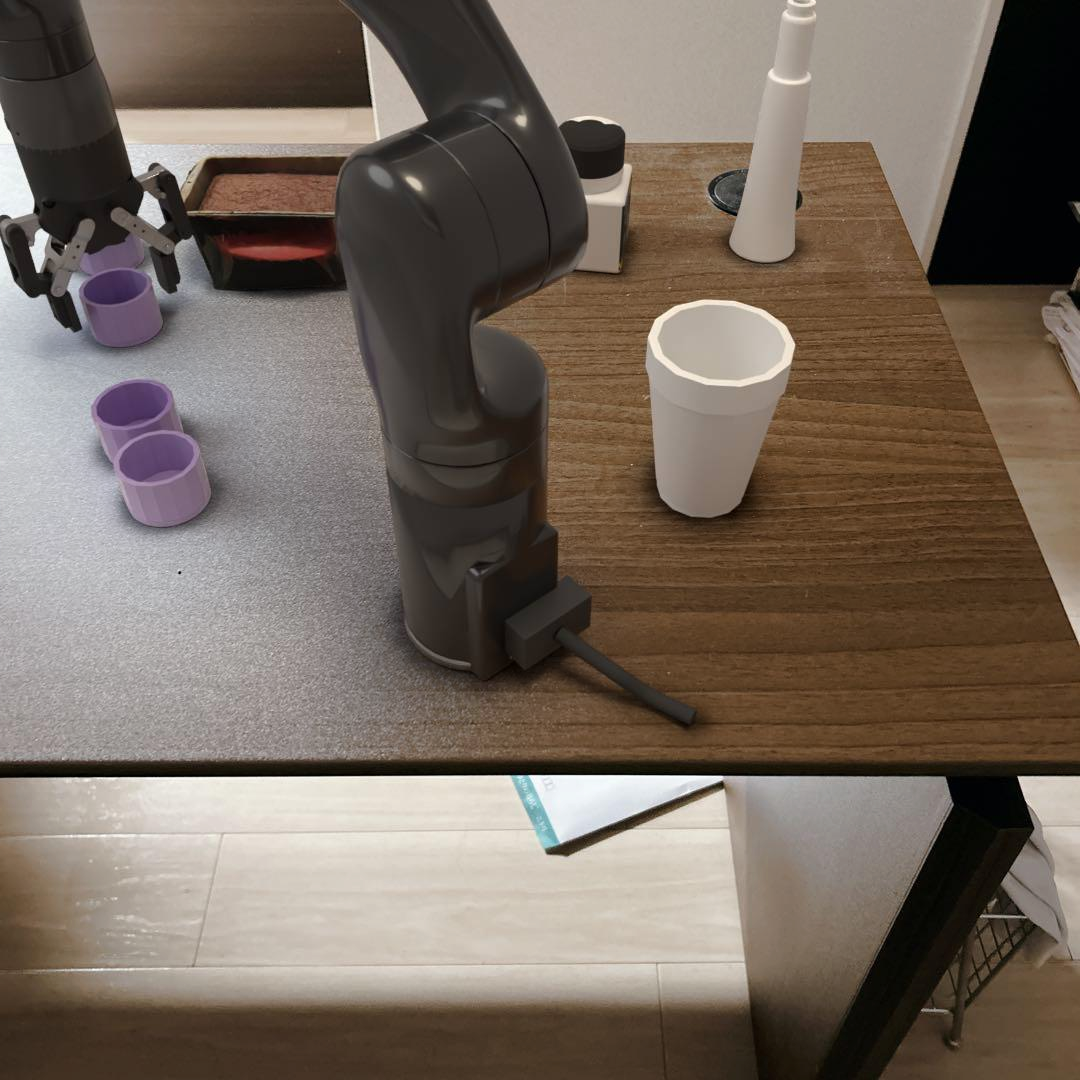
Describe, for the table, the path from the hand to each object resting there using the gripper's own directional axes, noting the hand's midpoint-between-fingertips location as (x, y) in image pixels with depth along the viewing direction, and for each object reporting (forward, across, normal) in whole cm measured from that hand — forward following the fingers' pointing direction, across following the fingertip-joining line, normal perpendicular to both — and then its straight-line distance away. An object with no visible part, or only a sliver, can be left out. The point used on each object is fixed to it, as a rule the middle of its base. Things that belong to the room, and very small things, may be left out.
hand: (122, 307), depth 94 cm
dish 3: (+2, -7, -21) cm, 22 cm away
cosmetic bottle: (+2, +51, -26) cm, 57 cm away
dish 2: (+2, -6, -15) cm, 16 cm away
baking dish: (+2, +17, +1) cm, 17 cm away
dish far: (+2, +4, +11) cm, 12 cm away
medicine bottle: (+2, +38, -16) cm, 41 cm away
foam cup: (+3, +23, -45) cm, 51 cm away
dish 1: (+2, 0, 0) cm, 2 cm away
